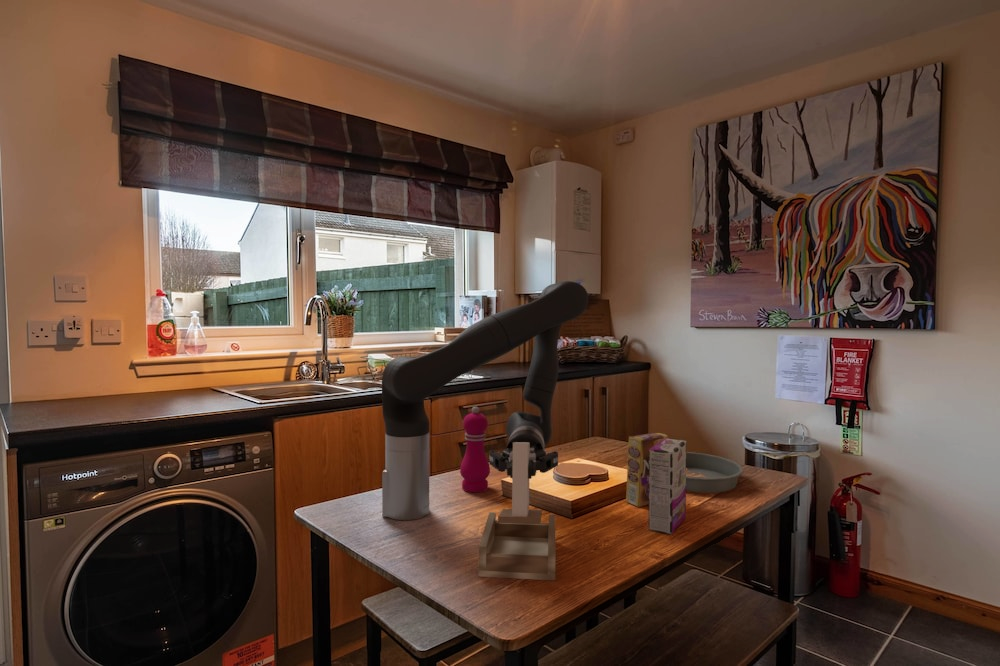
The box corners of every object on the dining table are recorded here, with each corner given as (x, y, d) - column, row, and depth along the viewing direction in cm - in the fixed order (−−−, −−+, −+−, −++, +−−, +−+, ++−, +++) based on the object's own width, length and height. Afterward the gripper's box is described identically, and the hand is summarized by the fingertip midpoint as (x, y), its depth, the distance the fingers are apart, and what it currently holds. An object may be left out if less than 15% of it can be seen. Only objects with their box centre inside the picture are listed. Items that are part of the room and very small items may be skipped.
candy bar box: (662, 513, 121) (663, 437, 120) (686, 517, 118) (687, 440, 117) (646, 530, 111) (647, 448, 110) (671, 535, 108) (673, 451, 108)
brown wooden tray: (478, 576, 91) (478, 546, 91) (489, 538, 107) (489, 512, 106) (555, 580, 90) (555, 549, 90) (554, 541, 105) (555, 514, 105)
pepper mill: (472, 482, 141) (473, 403, 141) (495, 487, 137) (496, 406, 136) (453, 489, 136) (454, 407, 135) (477, 495, 131) (478, 410, 130)
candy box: (639, 508, 123) (641, 439, 123) (625, 502, 127) (626, 435, 126) (667, 501, 128) (668, 434, 128) (652, 495, 132) (653, 431, 131)
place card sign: (498, 522, 93) (499, 442, 95) (503, 514, 102) (504, 441, 105) (540, 524, 92) (540, 443, 94) (541, 515, 102) (541, 442, 104)
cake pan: (623, 479, 145) (623, 462, 145) (673, 462, 162) (673, 446, 162) (714, 503, 127) (715, 484, 127) (760, 481, 144) (760, 464, 144)
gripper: (491, 428, 114) (480, 450, 97) (560, 429, 113) (561, 452, 96) (491, 464, 115) (480, 493, 98) (560, 466, 114) (561, 495, 96)
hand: (520, 472), depth 97 cm, fingers closed on place card sign, 2 cm apart
